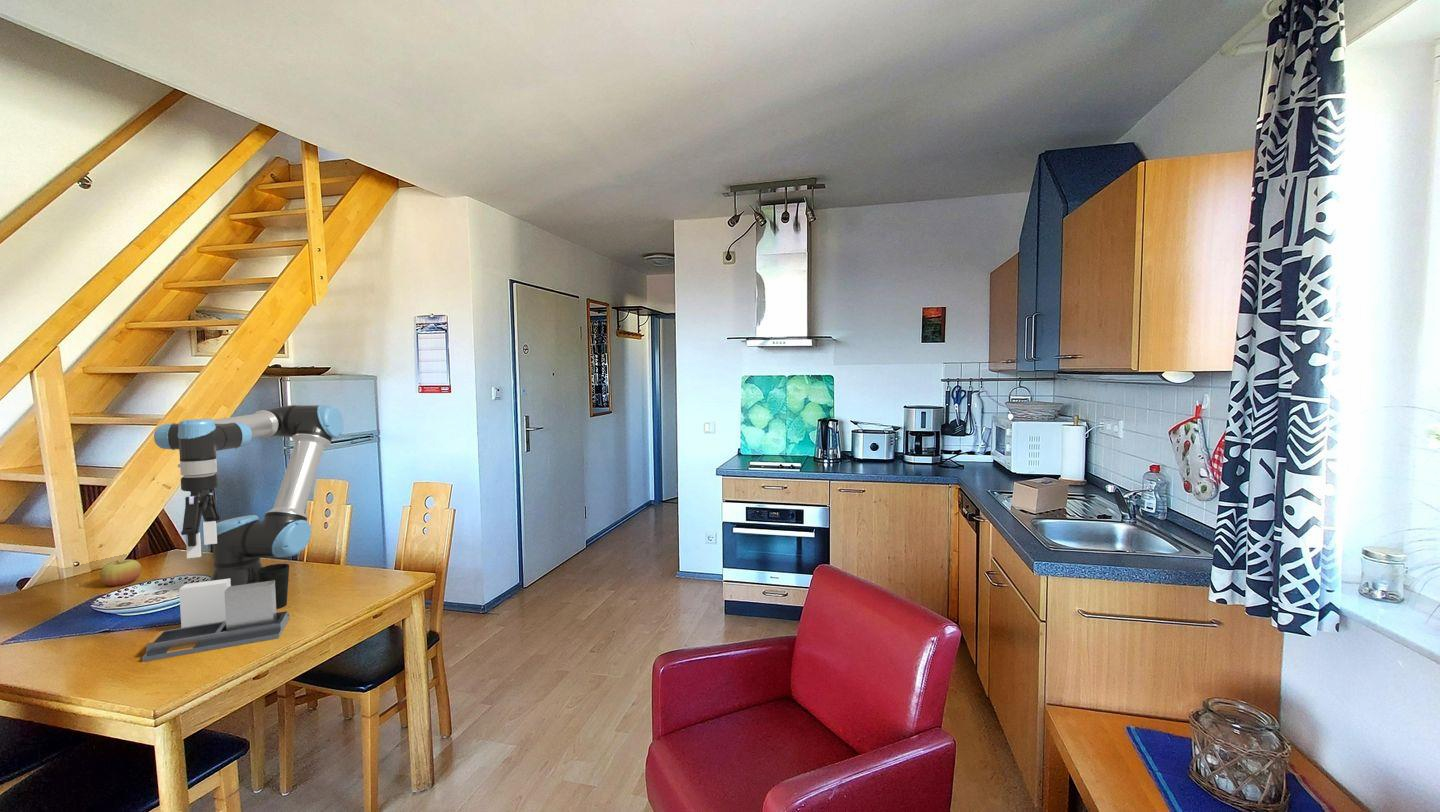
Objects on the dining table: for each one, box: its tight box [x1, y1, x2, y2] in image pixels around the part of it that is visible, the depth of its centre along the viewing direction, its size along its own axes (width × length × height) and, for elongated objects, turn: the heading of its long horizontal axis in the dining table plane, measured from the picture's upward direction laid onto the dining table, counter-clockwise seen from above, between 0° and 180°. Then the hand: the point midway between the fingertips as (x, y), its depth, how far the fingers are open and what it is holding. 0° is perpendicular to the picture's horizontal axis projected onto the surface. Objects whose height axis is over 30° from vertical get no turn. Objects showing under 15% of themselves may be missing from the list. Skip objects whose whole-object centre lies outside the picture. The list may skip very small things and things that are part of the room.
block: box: [178, 578, 231, 628], centre depth 160 cm, size 4×10×12 cm, turn 118°
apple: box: [99, 559, 142, 587], centre depth 191 cm, size 10×10×8 cm
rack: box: [141, 580, 290, 663], centre depth 152 cm, size 14×27×13 cm, turn 118°
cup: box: [257, 563, 290, 610], centre depth 173 cm, size 8×8×12 cm
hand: (202, 550), depth 159 cm, fingers open, 13 cm apart
